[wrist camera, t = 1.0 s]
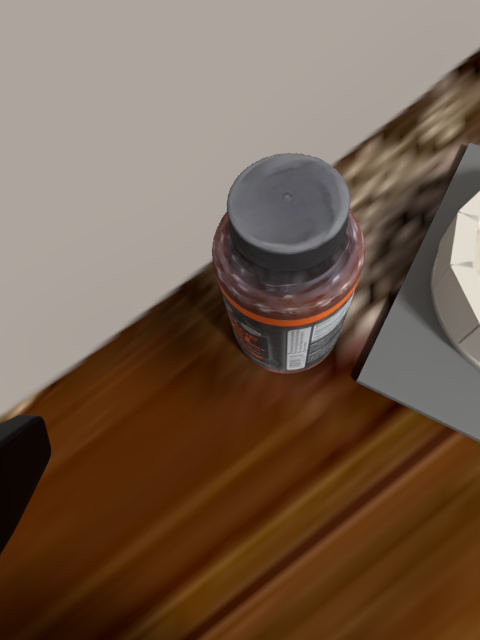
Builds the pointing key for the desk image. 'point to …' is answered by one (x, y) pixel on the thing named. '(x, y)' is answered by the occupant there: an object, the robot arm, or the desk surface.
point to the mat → (428, 331)
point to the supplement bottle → (288, 260)
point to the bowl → (460, 282)
